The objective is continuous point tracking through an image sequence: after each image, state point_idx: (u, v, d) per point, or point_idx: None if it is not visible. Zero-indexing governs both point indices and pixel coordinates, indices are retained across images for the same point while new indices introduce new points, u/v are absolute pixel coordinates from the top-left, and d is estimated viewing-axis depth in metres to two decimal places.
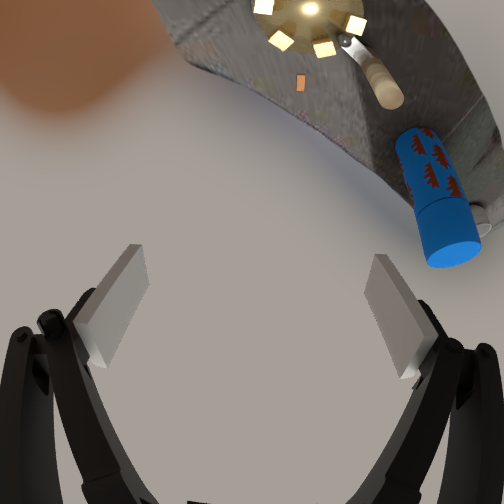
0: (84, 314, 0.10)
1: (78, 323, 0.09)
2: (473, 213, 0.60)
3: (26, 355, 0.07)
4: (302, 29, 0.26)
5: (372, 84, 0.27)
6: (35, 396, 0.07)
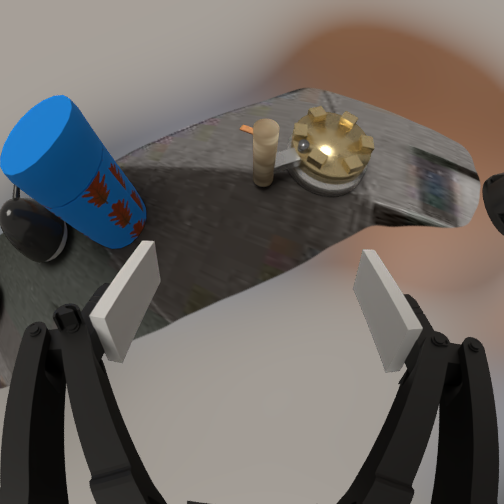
0: (101, 309, 0.10)
1: (95, 317, 0.10)
2: None
3: (39, 351, 0.08)
4: (318, 130, 0.42)
5: None
6: (46, 392, 0.07)
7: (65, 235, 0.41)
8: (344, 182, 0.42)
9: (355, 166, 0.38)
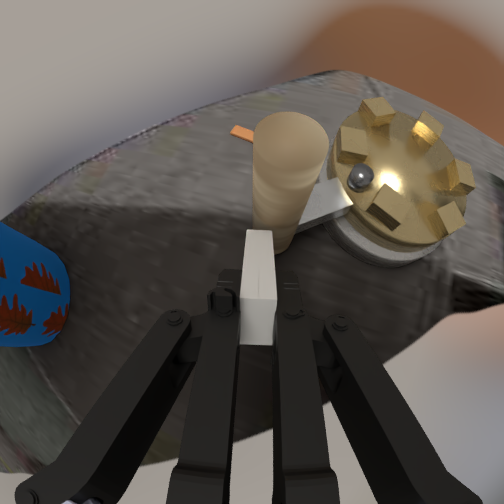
0: (248, 290, 0.12)
1: (246, 299, 0.11)
2: None
3: (172, 345, 0.09)
4: (381, 142, 0.20)
5: None
6: (162, 388, 0.08)
7: None
8: (424, 248, 0.20)
9: (455, 227, 0.17)
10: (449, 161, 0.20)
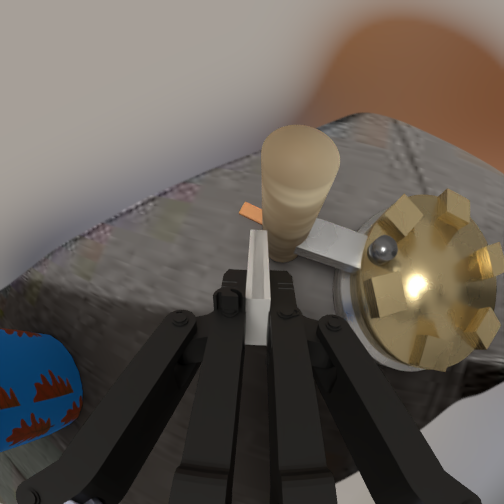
0: (253, 291, 0.12)
1: (252, 299, 0.11)
2: None
3: (178, 346, 0.09)
4: (434, 238, 0.18)
5: None
6: (166, 389, 0.08)
7: None
8: (395, 361, 0.18)
9: (431, 365, 0.14)
10: (486, 307, 0.16)
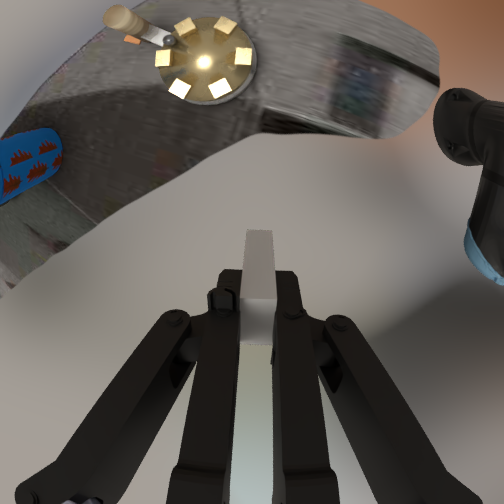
0: (248, 290, 0.12)
1: (246, 299, 0.11)
2: None
3: (172, 345, 0.09)
4: (207, 38, 0.29)
5: (134, 16, 0.24)
6: (161, 388, 0.08)
7: None
8: None
9: (175, 92, 0.32)
10: (233, 80, 0.33)
